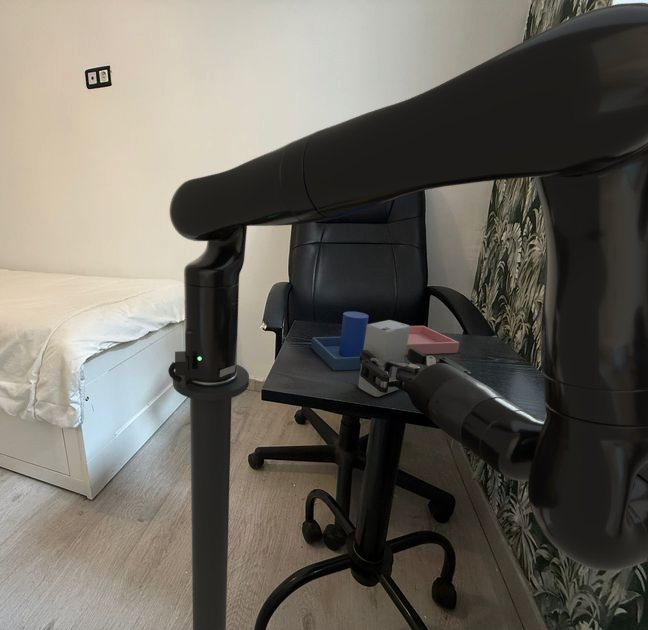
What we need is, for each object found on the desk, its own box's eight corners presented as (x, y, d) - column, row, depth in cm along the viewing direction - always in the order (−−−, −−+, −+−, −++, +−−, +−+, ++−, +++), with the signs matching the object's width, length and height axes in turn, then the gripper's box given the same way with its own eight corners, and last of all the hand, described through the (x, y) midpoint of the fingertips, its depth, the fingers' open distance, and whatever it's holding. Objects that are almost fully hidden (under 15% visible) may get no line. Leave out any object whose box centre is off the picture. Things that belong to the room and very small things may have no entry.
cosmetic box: (379, 380, 66) (388, 318, 63) (400, 391, 62) (412, 325, 59) (356, 388, 63) (364, 322, 60) (377, 399, 59) (387, 330, 56)
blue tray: (333, 370, 70) (334, 358, 69) (311, 347, 82) (311, 337, 81) (395, 367, 72) (397, 356, 71) (364, 345, 83) (366, 335, 83)
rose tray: (403, 355, 78) (405, 344, 78) (374, 336, 90) (375, 327, 89) (457, 352, 80) (459, 342, 80) (421, 334, 92) (423, 325, 91)
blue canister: (345, 360, 74) (350, 318, 71) (334, 350, 79) (339, 311, 76) (367, 359, 75) (373, 317, 72) (356, 350, 79) (361, 311, 77)
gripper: (515, 374, 45) (428, 332, 60) (411, 379, 43) (349, 334, 58) (501, 426, 47) (420, 372, 62) (401, 434, 45) (343, 376, 60)
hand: (386, 354), depth 60 cm, fingers open, 8 cm apart
